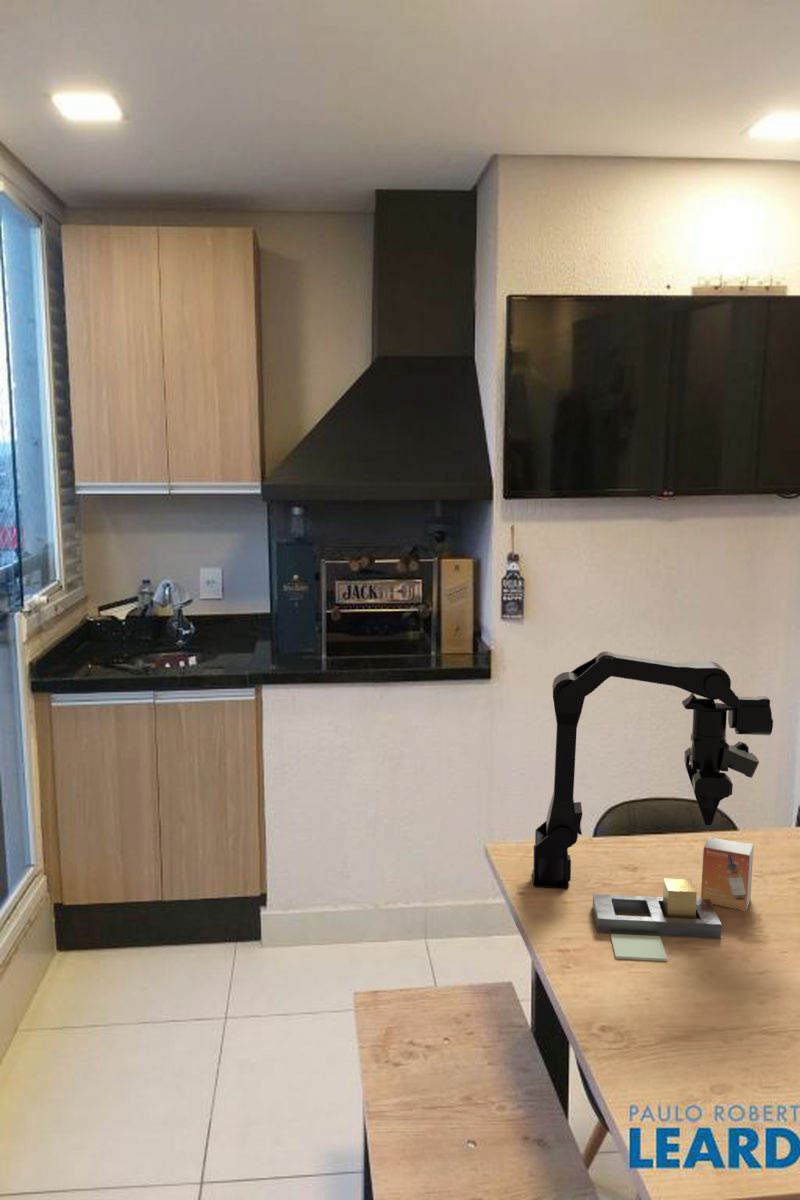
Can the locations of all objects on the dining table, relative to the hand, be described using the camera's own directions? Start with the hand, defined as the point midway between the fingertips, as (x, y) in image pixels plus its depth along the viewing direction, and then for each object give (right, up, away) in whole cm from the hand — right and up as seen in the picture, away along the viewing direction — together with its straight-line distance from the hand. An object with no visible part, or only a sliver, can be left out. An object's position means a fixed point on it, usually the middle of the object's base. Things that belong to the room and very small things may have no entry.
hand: (705, 815), depth 165 cm
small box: (+3, -15, -2) cm, 15 cm away
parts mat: (-17, -17, -18) cm, 30 cm away
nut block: (-8, -16, -10) cm, 21 cm away
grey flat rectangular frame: (-12, -16, -10) cm, 22 cm away
